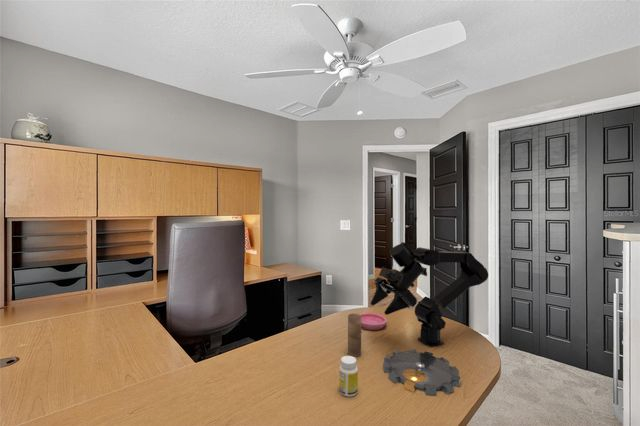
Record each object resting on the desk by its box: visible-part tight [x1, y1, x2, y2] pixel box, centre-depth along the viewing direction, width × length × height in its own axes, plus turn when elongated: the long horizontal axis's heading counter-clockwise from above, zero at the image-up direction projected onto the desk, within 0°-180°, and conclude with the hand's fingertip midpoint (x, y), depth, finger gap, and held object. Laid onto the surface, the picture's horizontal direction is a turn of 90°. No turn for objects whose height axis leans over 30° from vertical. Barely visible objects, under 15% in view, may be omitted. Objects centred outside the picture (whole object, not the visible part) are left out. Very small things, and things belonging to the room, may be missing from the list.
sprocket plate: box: [382, 348, 461, 396], centre depth 84 cm, size 21×21×2 cm
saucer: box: [359, 312, 388, 331], centre depth 118 cm, size 12×12×3 cm
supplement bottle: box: [338, 355, 359, 398], centre depth 75 cm, size 5×5×8 cm
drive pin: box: [347, 313, 362, 358], centre depth 94 cm, size 4×4×12 cm
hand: (378, 309), depth 97 cm, fingers open, 9 cm apart
